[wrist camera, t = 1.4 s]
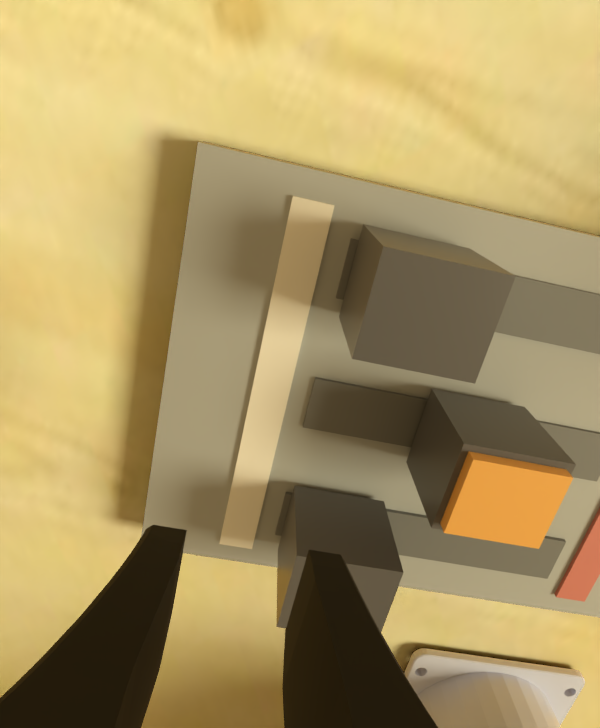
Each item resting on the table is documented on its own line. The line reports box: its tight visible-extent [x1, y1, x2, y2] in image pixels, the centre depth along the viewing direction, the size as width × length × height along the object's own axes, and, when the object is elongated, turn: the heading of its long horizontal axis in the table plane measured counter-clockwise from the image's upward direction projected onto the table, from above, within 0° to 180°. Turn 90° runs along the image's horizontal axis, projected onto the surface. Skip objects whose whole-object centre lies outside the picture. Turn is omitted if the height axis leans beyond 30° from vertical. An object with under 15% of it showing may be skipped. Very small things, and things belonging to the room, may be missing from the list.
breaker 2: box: [339, 224, 516, 384], centre depth 15 cm, size 3×3×3 cm
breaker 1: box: [277, 486, 404, 632], centre depth 18 cm, size 3×3×3 cm
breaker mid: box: [406, 389, 576, 549], centre depth 16 cm, size 3×3×4 cm
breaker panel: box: [141, 142, 600, 617], centre depth 19 cm, size 14×20×1 cm
